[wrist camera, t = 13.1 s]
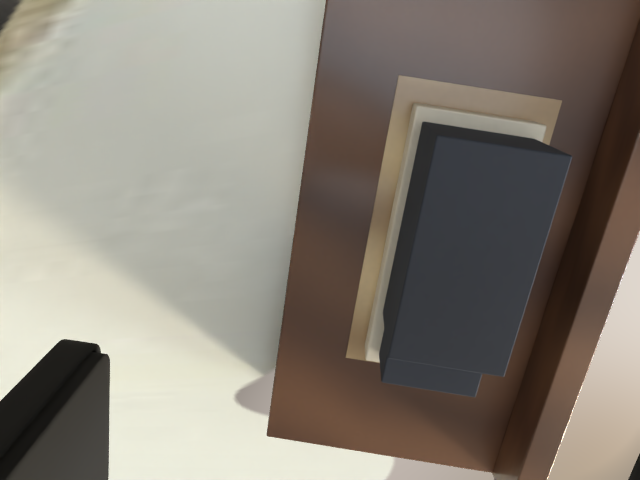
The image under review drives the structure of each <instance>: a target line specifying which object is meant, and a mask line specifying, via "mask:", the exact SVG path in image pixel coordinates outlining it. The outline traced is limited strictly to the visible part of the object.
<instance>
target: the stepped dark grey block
mask: <svg viewBox="0 0 640 480" xmlns="http://www.w3.org/2000/svg"><path fill="white" fill-rule="evenodd" d="M545 131H546V125H543V124H541V123H538V122H535V121H529V120H522V119H516V118H509V117H503V116H496V115H490V114H484V113H477V112H471V111H464V110H458V109H452V108H445V107H439V106H432V105H426V104H419V103H414V104H413V107H412V112H411V117H410V122H409V127H408V132H407V137H406V142H405V147H404V152H403V157H402V162H401V167H400V172H399V177H398V182H397V187H396V192H395V197H394V202H393V207H392V212H391V217H390V222H389V227H388V232H387V237H386V242H385V247H384V252H383V257H382V262H381V267H380V272H379V277H378V282H377V287H376V292H375V297H374V302H373V307H372V312H371V316H370V321H369V326H368V331H367V336H366V341H365V359H366V360H368V361H374V362H380V372H381V382H383V383H389V384H395V385H401V386H407V387H413V388H420V389H426V390H432V391H438V392H444V393H451V394H457V395H463V396H469V397H476V394H477V391H478V387H479V384H480V381H481V377H482V374H488V375H494V376H500V377H504V376H505V373H506V369H507V366H508V363H509V360H510V357H511V353H512V350H513V347H514V344H515V340H516V337H517V334H518V331H519V328H520V324H521V321H522V318H523V315H524V311H525V308H526V305H527V302H528V299H529V295H530V292H531V289H532V286H533V282H534V279H535V276H536V273H537V270H538V266H539V263H540V260H541V257H542V253H543V250H544V247H545V244H546V241H547V237H548V234H549V231H550V228H551V224H552V221H553V218H554V215H555V212H556V208H557V205H558V202H559V199H560V195H561V192H562V189H563V186H564V183H565V179H566V176H567V173H568V170H569V166H570V163H571V160H572V156H571V155H569V154H567V153H565V152H562V151H560V150H558V149H556V148H554V147H551V146H549V145H547V144H545V143H543V138H544V135H545Z"/></svg>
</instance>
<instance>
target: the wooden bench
mask: <svg viewBox="0 0 640 480" xmlns="http://www.w3.org/2000/svg"><path fill="white" fill-rule="evenodd" d="M414 103H419V104H426V105H432V106H439V107H445V108H452V109H458V110H464V111H471V112H477V113H484V114H490V115H496V116H503V117H509V118H516V119H522V120H529V121H535V122H538V123H541V124H543V125H546V131H545V135H544V138H543V143H545V144H547V145H549V146H551V147H554V148H556V149H558V150H560V151H562V152H565V153H567V154H569V155H571V156H572V160H571V163H570V166H569V170H568V173H567V176H566V179H565V183H564V186H563V189H562V192H561V195H560V199H559V202H558V205H557V208H556V212H555V215H554V218H553V221H552V224H551V228H550V231H549V234H548V237H547V241H546V244H545V247H544V250H543V253H542V257H541V260H540V263H539V266H538V270H537V273H536V276H535V279H534V282H533V286H532V289H531V292H530V295H529V299H528V302H527V305H526V308H525V311H524V315H523V318H522V321H521V324H520V328H519V331H518V334H517V337H516V340H515V344H514V347H513V350H512V353H511V357H510V360H509V363H508V366H507V369H506V373H505V376H504V377H500V376H494V375H488V374H482V377H481V381H480V384H479V387H478V391H477V394H476V397H469V396H463V395H457V394H451V393H444V392H438V391H432V390H426V389H420V388H413V387H407V386H401V385H395V384H389V383H383V382H381V372H380V362H374V361H368V360H366V359H365V341H366V336H367V331H368V326H369V321H370V316H371V312H372V307H373V302H374V297H375V292H376V287H377V282H378V277H379V272H380V267H381V262H382V257H383V252H384V247H385V242H386V237H387V232H388V227H389V222H390V217H391V212H392V207H393V202H394V197H395V192H396V187H397V182H398V177H399V172H400V167H401V162H402V157H403V152H404V147H405V142H406V137H407V132H408V127H409V122H410V117H411V112H412V107H413V104H414ZM639 233H640V0H326V4H325V12H324V19H323V26H322V33H321V41H320V48H319V55H318V63H317V70H316V77H315V85H314V92H313V99H312V107H311V114H310V121H309V128H308V136H307V143H306V150H305V158H304V165H303V172H302V180H301V187H300V194H299V201H298V209H297V216H296V223H295V231H294V238H293V245H292V253H291V260H290V267H289V274H288V282H287V289H286V296H285V304H284V311H283V318H282V326H281V333H280V340H279V348H278V355H277V362H276V369H275V377H274V384H273V392H272V399H271V406H270V413H269V421H268V428H267V436H269V437H276V438H282V439H288V440H294V441H300V442H306V443H312V444H319V445H325V446H331V447H337V448H343V449H349V450H355V451H362V452H368V453H374V454H380V455H386V456H392V457H398V458H405V459H411V460H417V461H423V462H430V463H435V464H441V465H448V466H454V467H460V468H466V469H473V470H478V471H484V472H491V473H493V477H494V480H548V477H549V474H550V472H551V469H552V466H553V464H554V461H555V458H556V455H557V453H558V450H559V447H560V445H561V442H562V439H563V437H564V434H565V431H566V429H567V426H568V423H569V420H570V418H571V415H572V412H573V410H574V407H575V404H576V401H577V399H578V396H579V394H580V391H581V388H582V386H583V383H584V380H585V377H586V375H587V372H588V370H589V367H590V364H591V361H592V359H593V356H594V353H595V351H596V348H597V345H598V343H599V340H600V337H601V334H602V332H603V329H604V327H605V324H606V321H607V318H608V316H609V313H610V310H611V308H612V305H613V302H614V300H615V297H616V294H617V292H618V289H619V286H620V284H621V281H622V278H623V276H624V273H625V270H626V267H627V265H628V262H629V259H630V257H631V254H632V251H633V249H634V246H635V243H636V241H637V238H638V235H639Z"/></svg>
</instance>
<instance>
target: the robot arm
mask: <svg viewBox="0 0 640 480" xmlns="http://www.w3.org/2000/svg"><path fill="white" fill-rule="evenodd" d="M109 387H110V359H109V356H108V355H107V354H102V353H101V351H100V347H99V345H97V344H94V343H87V342H80V341H73V340H67V339H64V340H61V341H60V342H58V343H57V344H56V345H55V346H54V347H53V348H52V349H51V350H50V351H49V352H48V353H47V354H46V355H45V356H44V357H43V358H42V359H41V360H40V361H39V362H38V363H37V365H36V366H35V367H34V368H33V369H32V370H31V371H30V372H29V373H28V374H27V375H26V376H25V377H24V378H23V379H22V380H21V381H20V382H19V383H18V384H17V385H16V386H15V387H14V388H13V389H12V390H11V391H10V392H9V393H8V394H7V395H6V396H5V397H4V398H3V399H2V400H1V401H0V480H108V466H109ZM628 480H640V454H639V456H638V459H637V461H636V463H635V466H634V468H633V470H632V472H631V475H630V477H629V479H628Z"/></svg>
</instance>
